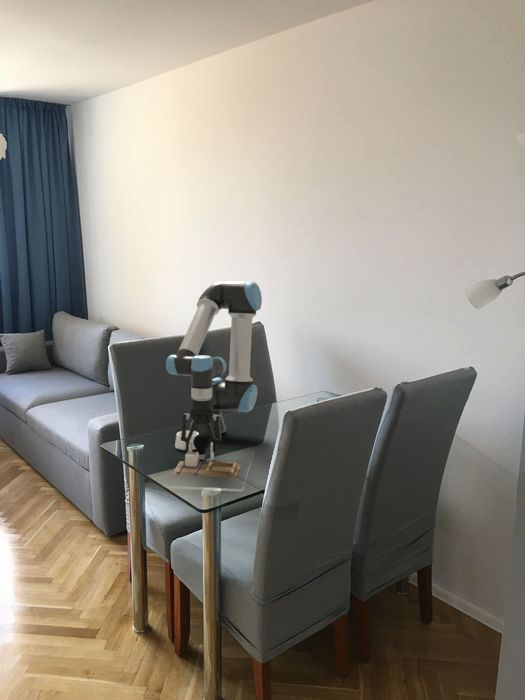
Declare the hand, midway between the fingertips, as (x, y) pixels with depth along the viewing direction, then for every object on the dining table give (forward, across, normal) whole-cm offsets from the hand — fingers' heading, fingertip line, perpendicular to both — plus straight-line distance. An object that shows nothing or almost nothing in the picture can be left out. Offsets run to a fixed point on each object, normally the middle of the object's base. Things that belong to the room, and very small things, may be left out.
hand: (201, 460), depth 218 cm
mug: (+1, -8, +13) cm, 15 cm away
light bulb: (+1, 0, 0) cm, 1 cm away
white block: (0, -2, -7) cm, 8 cm away
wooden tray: (0, +4, -11) cm, 12 cm away
